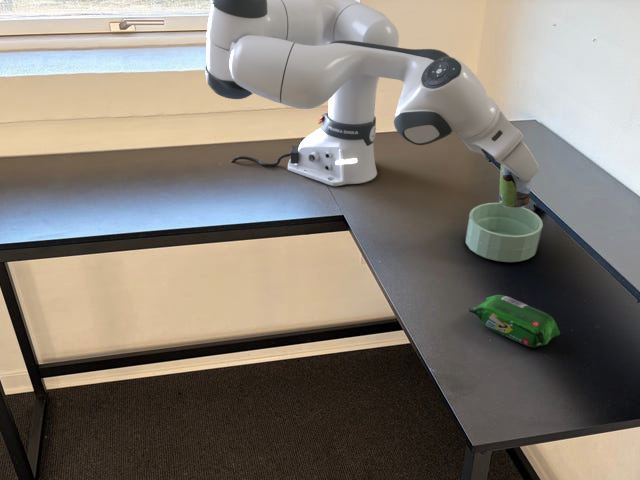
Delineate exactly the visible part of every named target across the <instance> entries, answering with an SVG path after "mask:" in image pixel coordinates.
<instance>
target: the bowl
mask: <svg viewBox="0 0 640 480" xmlns="http://www.w3.org/2000/svg"><path fill="white" fill-rule="evenodd" d="M543 228H544V224H543V220H542V219H541V217H540V216H539V215H538V214H537V213H536V212H534V211H532V210H530V209H529V208H526V207H525V206H524V207H522V208H518V209H510V208H506V207H504V206H503V205H502V204H501V203H500V202H487V203H482V204H478V205H477V206H475V207H473V208H472V209H471V210H470V212H469V214H468V221H467V227H466V231H465V244H466V246H467V247H468V249H469V250H470V251H472V252H473V253H475V254H476V255H478V256H480V257H481V258H485V259H488V260H492V261H496V262H503V263H518V262H522V261H526V260H530V259H531V258H532V257H534V256H535V255H536V253H537V251H538V248H539V244H540V240H541V236H542V231H543Z"/></svg>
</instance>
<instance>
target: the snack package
mask: <svg viewBox="0 0 640 480" xmlns="http://www.w3.org/2000/svg"><path fill="white" fill-rule="evenodd" d="M468 312H469V313H471V314H474V315H475V316H477V318H478V319H479V320H480V322H481V323H482V325H484V326H485V327H486V328H488V329H489V330H490V331H493V332H495V333H496V334H498V335H501V336H502V337H505V338H507V339H510V340H511V341H514V342H517V343H518V344H521V345H523V346H526V347H529V348H538V347H543V346H547V345H548V344H549V342H550V341H551V340H552V339H554V338H556V337H558V336H560V334H561V331H560V330H559V327H558V325H557V322H556V320H555V319H554V318H553V317H552V316H551V315H550V314H548V313H546V312H544V311H543V310H541V309H537V308H535V307H533V306H530V305H528V304H526V303H524V302H522V301H519V300H517V299H514V298H512V297H511V296H507V295H503V294H495V295H492V296H487V297H485V298H484V299H483V301H482V302H480V304H478V305H476V306H474V307H472V308H468Z"/></svg>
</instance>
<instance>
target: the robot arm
mask: <svg viewBox="0 0 640 480" xmlns="http://www.w3.org/2000/svg"><path fill="white" fill-rule="evenodd" d="M210 3H211V7H210V11H209V16H208V22H207V28H206V29H207V30H206V38H207V39H206V66H205V78H206V83H207V86H208V87H209V88H210V89H211V90H212V92H213V93H215V94H216V95H218V96H220V97H223V98H225V99H228V100H229V99H231V100H243V99H246V98H248V97H250V96H252V95H253V94H255V95H257V96H259V97H261V98H264V99H266V100H269V101H272V102H275V103H277V104H281V105H284V106H288V107H291V108H295V109H299V110H313V109H315V108H318V107H320V106H322V105H324V104H325V103H326V102H328V109H327V110H326V111H325V112H324V113H323V114H322V115H321V117H320V118H318V122H317V124H318V125H320V124H321V125H320V127H319V128H318V129H316V130H314V131H313V132H312V133H310V134H309V135H307V136H306V137H305V138H303V139H302V140H301V142H300V144H299V145H292V146H291V149H290V152H288V153H284V154H281V155H280V156H279V157H278V158H277V160H276V162H273V163H269V162H268V163H266V162H263V161H262V160H261V159H259V158H254V157H251V156H246V155H239V156H236V157H234V158H232V159H231V160H230V163H235V162H236V161H239V160H246V161H250V162H255V163H258V164H259V165H260V166H263V167H270V168H271V167H276V166H278V165H279V164H280V163H281V161H282V159H284V158H287V157H290V159H289V161H288V163H287V170H288V171H289V172H292V173H295V174H297V175H300V176H303V177H306V178H309V179H311V180H313V181H314V180H315V181H316V182H320V183H323V184H325V185H328V186H331V187H340V186H344V185H357V184H364V183H367V182H369V181H370V182H371V181H372V180H374V179H375V178H376V177H377V175H378V171H377V170H378V169H377V167H376V160H375V149H374V148H375V146H374V145H375V144H374V141H375V138H376V133H377V126H376V125H377V118H376V115H375V114H376V113H375V112H376V101H377V90H378V84H379V81H380V78H384V79H391V80H397V81H401V82H403V85H402V89H401V93H400V96H399V98H398V102H397V106H396V110H395V114H394V119H393V126H394V129H395V130H396V131H397V133H398V134H399V136H401V137H402V139H404V140H406V142H409V143H411V144H413V145H416V146H425V145H429V144H433V143H435V142H437V141H439V140H441V139H444V138H446V137H448V136H449V135H451V134H452V133H453V132H454V133H455V134H456V135H457V137H458V138H459V139H460V140H461V141H462V143H464V145H465V147H467V149H468V150H469V151H470V152H472V153H476V154H480V155H482V156H483V155H484V156H486V157H488V158H490V159H491V160H493V161H494V162H497V163H498V164H500V166H501V165H503V166H504V167H505V168H507V169H508V170H509V171H511V172H512V173H513V174H515V175H516V176H517V177H519V178H520V179H521V180H522V181H524V182H528V181H529V180H530V179H531V180H532V179H533V178H534V177H535V176H536V174H537V173H539V170H540V166H539V163H538V161H537V159H536V158H535V156H534V155H533V153H532V152H531V149H530V148H529V146H527V144H526V143H525V142H524V141H523V139H524V135H523V134H522V132H521V130H519V129H518V128H517V127H516V126H515V125H514V124H513V123H512V122H511V121H510V120H509V118H508V117H507V115H506V114H505V113H504V111H503V110H502V109H501V108H500V107H499V105H498V104H497V102H496V101H495V100H494V99H493V97H490V96H489V95H488V94H487V91H486V88H485V86H484V84H483V83H482V82H481V81H480V80H479V78H478V77H477V75H476V74H475V73H474V71H472V69H470V68H469V67H468V66H467V65H466V64H465V63H464V62H462V61H461V60H459V59H458V58H456V57H452V56H451V55H449V54H448V53H447V52H444V51H443V50H439V49H435V48H417V49H415V48H414V49H413V48H405V47H399V44H400V35H399V31H398V29H397V27H396V25H395V24H394V23H393V22H392V21H391V19H390V18H388V17H387V16H386V14H384V13H383V12H381V11H378V10H377V9H375V8H373V7H370V6H368V5H366V4H364V3H362V2H359V1H357V0H210ZM528 148H529V149H530V150H529V149H528Z"/></svg>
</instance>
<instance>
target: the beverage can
mask: <svg viewBox="0 0 640 480" xmlns="http://www.w3.org/2000/svg"><path fill="white" fill-rule="evenodd" d="M528 149H529V150H530V151H531V149H530V148H529V147H528ZM499 171H500V172H499V173H500V175H499V195H498V200H499V201H498V203H501V204H502V205H503V206H504V207H506V208H510V209H518V208H522V207H524V208H525V207H526V205H528V204H529V203H530V200H531V199H530V196H531V183H532V179H530V180H529V181H528V182H524V181H522V180H521V179H520V178H519V177H517V176H516V175H515V174H513V173H512V172H511V171H509V170H508V169H507V168H505V167H504V166H503V165H501V164H500V170H499Z"/></svg>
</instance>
